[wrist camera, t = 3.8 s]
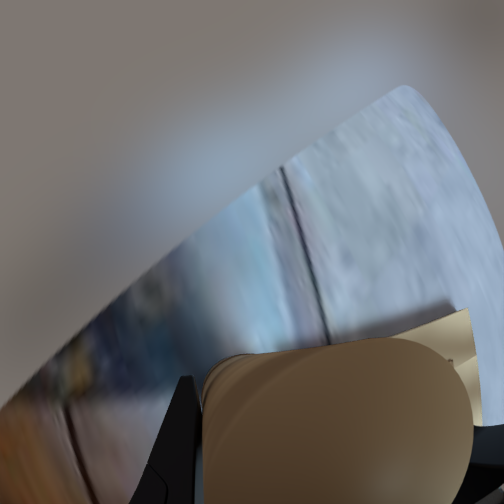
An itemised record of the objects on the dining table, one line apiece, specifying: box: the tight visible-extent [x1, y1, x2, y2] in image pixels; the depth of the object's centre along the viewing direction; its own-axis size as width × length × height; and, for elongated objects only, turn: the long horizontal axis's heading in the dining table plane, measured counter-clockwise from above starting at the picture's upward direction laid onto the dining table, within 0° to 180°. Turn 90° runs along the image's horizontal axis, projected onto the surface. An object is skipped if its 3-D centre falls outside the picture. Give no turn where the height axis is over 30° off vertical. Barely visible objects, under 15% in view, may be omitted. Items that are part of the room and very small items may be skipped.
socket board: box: [389, 308, 482, 426], centre depth 14 cm, size 16×14×1 cm
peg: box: [201, 337, 474, 504], centre depth 9 cm, size 4×4×13 cm
